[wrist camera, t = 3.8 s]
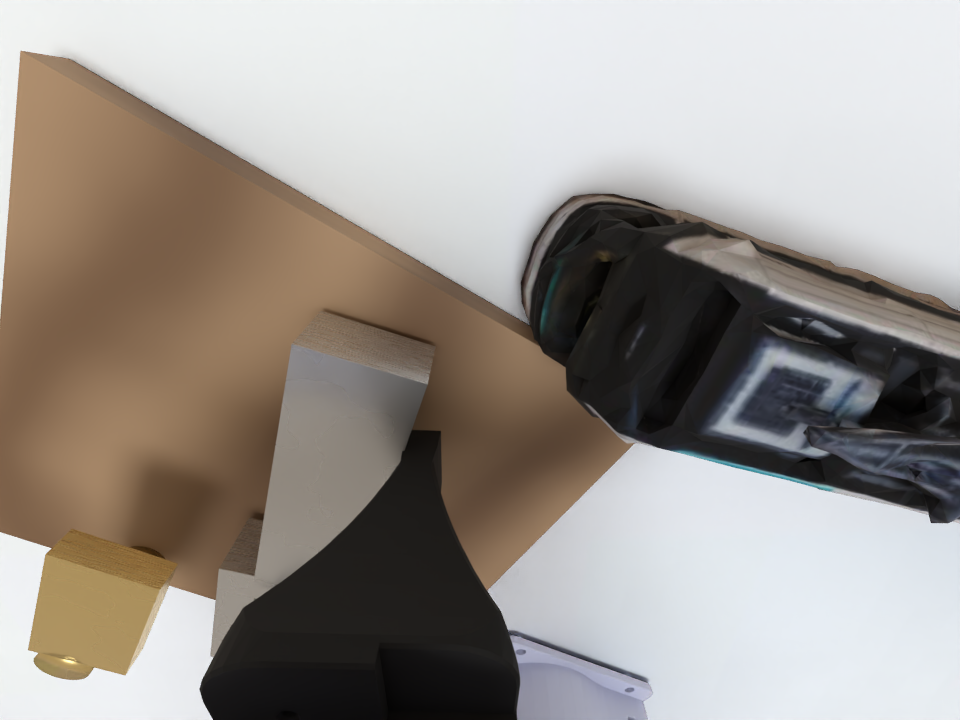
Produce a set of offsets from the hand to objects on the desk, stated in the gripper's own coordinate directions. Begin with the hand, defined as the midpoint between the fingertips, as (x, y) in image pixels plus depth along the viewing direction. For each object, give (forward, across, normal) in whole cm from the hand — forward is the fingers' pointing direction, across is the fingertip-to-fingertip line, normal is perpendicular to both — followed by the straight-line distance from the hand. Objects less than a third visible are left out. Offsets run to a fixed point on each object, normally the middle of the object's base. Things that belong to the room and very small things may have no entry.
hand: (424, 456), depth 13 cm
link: (+1, +3, +3) cm, 4 cm away
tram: (+3, -18, +2) cm, 18 cm away
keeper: (+1, +10, +5) cm, 11 cm away
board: (+2, +5, +2) cm, 6 cm away
